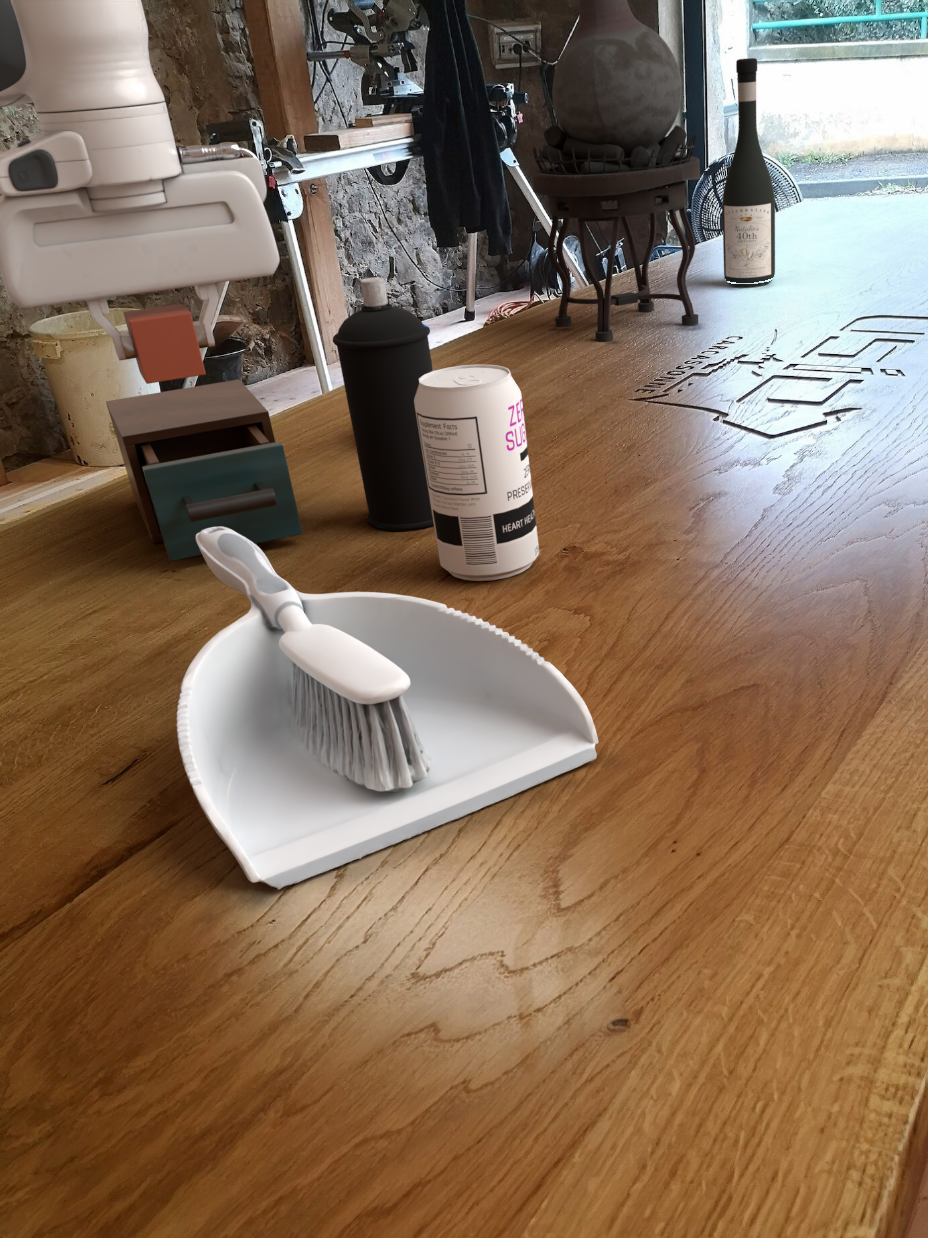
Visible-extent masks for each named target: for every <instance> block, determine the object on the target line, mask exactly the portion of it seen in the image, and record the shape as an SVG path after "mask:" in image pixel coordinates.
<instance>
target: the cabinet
mask: <svg viewBox="0 0 928 1238" xmlns="http://www.w3.org/2000/svg"><path fill="white" fill-rule="evenodd" d="M105 403H106V408H107V410H108V414H109V418H110V420H111V424H112V427H113V432H114V433H115V437H116V441H117V444H118V447H119V451H120V454H121V457H122V461H123V464H124V466H125V470H126V474H127V478H128V481H129V484H130V487H131V490H132V494H133V498H134V500H135V504H136V506H137V509H138V510H139V513H140V515H141V518H142V520H143V522H144V525H145V528H146V529H147V532H148V534H149V537H150V539H151V541H152V543H153V545H157V544H162V543H163V544H164V541H163V537H162V534H161V530H160V527H159V523H158V520H157V517H156V513H155V510H154V506H153V503H152V499H151V496H150V493H149V489H148V486H147V482H146V479H145V475H144V472H143V469H142V467H143V466H144V464H143V461H142V457H141V454H140V451H139V447H138V444H139V443H145V442H150V441H156V440H162V439H167V438H173V437H179V436H184V435H190V434H196V433H201V432H207V431H213V430H218V429H224V428H230V427H236V426H241V425H247V424H253V423H254V424H255V425H256V427H257V428H258V429H259V430H260V431H261V433H262V434H263V435H264V436H265V437H266V439H267V440H268V441H269V443H275V442H276V439H275V433H274V430H273V426H272V422H271V416H270V413H269V411H268V409H267V408H266V407H265V406H264V405H263V404H262V403H261V402H260V401H259V400H258V399H257V397H256V396H255V395H254V394H253V393H252V391H251V390H249V388H248V387H247V386H246V385H245V384H244V383H243V382H242V381H241V379H233V380H227V381H221V382H215V383H209V384H202V385H197V386H191V387H185V388H178V389H173V390H166V391H160V392H154V393H148V394H142V395H136V396H130V397H124V398H118V399H117V398H116V399H111V400H106V401H105Z"/></svg>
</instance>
